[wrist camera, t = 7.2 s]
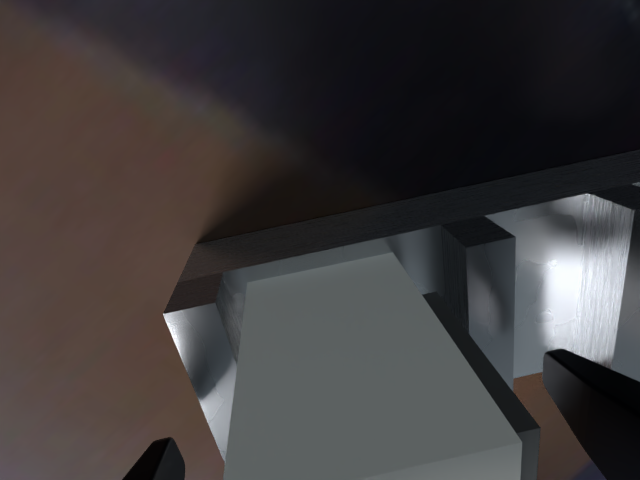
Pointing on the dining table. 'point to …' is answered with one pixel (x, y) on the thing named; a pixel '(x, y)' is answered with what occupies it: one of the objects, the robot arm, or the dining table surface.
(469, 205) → the rail
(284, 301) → the matte gray box
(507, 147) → the dining table surface
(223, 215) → the dining table surface
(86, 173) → the dining table surface
